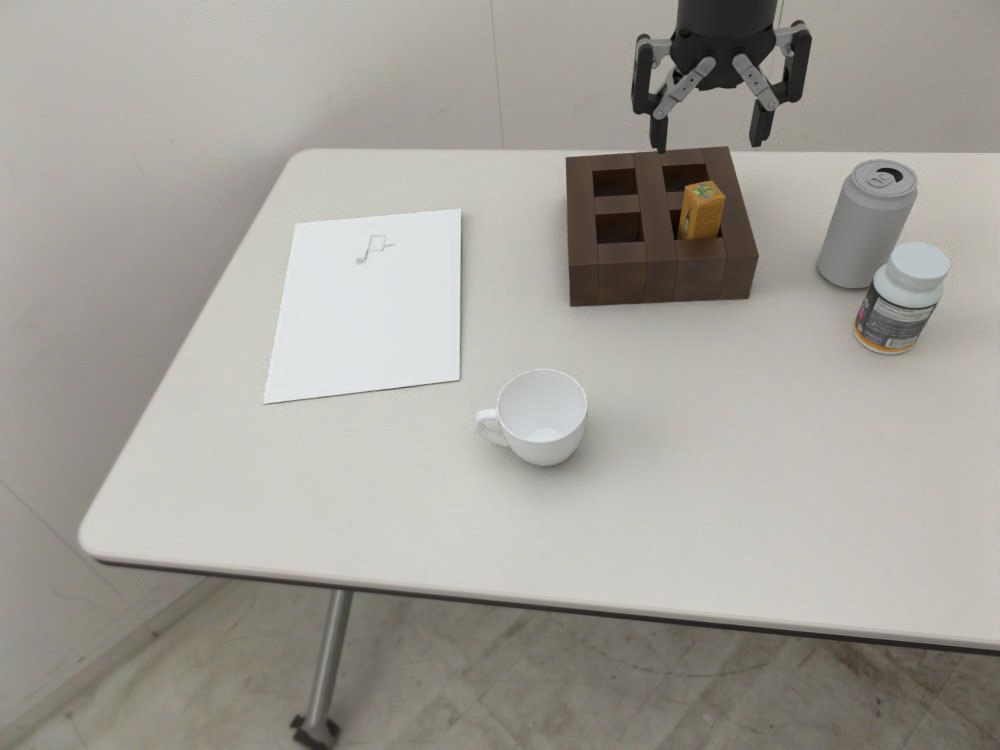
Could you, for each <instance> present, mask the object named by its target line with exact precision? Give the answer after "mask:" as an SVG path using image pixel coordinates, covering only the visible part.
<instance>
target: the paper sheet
mask: <svg viewBox="0 0 1000 750" xmlns="http://www.w3.org/2000/svg"><path fill="white" fill-rule="evenodd" d="M461 241H462V208H452V209H441V210H430V211H420V212H419V211H418V212H407V213H396V214H395V213H394V214H387V215H376V216H373V215H372V216H363V217H354V218H352V217H351V218H341V219H340V218H339V219H330V220H319V221H318V220H317V221H309V222H308V221H307V222H298V223H297V222H296V223H294V228H293V235H292V239H291V245H290V251H289V256H288V262H287V268H286V272H285V278H284V283H283V288H282V295H281V300H280V306H279V311H278V316H277V321H276V328H275V333H274V337H273V338H274V339H273V344H272V348H271V349H272V350H271V355H270V361H269V367H268V372H267V377H266V383H265V387H264V393H263V399H262V405H263V404H273V403H280V402H281V403H282V402H289V401H298V400H305V399H313V398H323V397H331V396H339V395H347V394H355V393H356V394H357V393H364V392H371V391H379V390H380V391H381V390H389V389H398V388H405V387H413V386H420V385H422V386H423V385H429V384H430V385H431V384H438V383H446V382H454V381H460V378H461V377H460V376H461V375H460V374H461V373H460V372H461V371H460V368H461V367H460V364H461V359H460V358H461V354H460V353H461V260H462V259H461V257H462V256H461V255H462V254H461V253H462V250H461V248H462V246H461V245H462V242H461Z"/></svg>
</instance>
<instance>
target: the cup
mask: <svg viewBox="0 0 1000 750" xmlns="http://www.w3.org/2000/svg"><path fill="white" fill-rule="evenodd" d="M495 404H496V405H495V407H489V408H484V409H481V410H479V411H477V412H476V413H475V415H474V419H473V428H474V431H475V433H476V434H477V435H478V436H479V437H480V438H482V439H483V440H485V441H487V442H489V443H492V444H495V445H498V446H501V447H508V448H509V449H510V450H511V451H512V452H513V453H514V454H515V455H516V456H517V457H518V458H520V459H521V460H522V461H524V462H526V463H528V464H531V465H534V466H536V467H537V466H538V467H551V466H555V465H559V464H561V463H563V462H565V461H566V460H567V459H568V458H570V457H571V456H572V455H573V454H574V453H575V452H576V451H577V449H578V448H579V446H580V445H581V443H582V442H583V439H584V437H585V434H586V431H587V426H588V418H589V416H588V415H589V406H588V404H589V401H588V396H587V393H586V391H585V389H584V387H583V386H582V385H581V383H580V382H579V380H577V379H576V378H574V377H573V376H572V375H570V374H568V373H566V372H564V371H561V370H558V369H554V368H533V369H530V370H525V371H523V372H521V373H518V374H517V375H515V376H513V377H512V378H511V379H510V380H508V381H507V382H506V383H505V384H504V385H503V387H501V390H500V392H499V393H498V396H497V398H496V403H495ZM489 421H492V422H493V421H494V422H497V424H498V427H499V428H500V432H501V433H500V432H498V431H495V430H493V429H491V428H490V427H488V426H487V425H485V422H489Z"/></svg>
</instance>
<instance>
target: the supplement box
mask: <svg viewBox="0 0 1000 750" xmlns="http://www.w3.org/2000/svg"><path fill="white" fill-rule="evenodd" d="M724 201H725V196H724V194H723V193H722V192H721V191H720V189H719V188H718V187H717V186H716V185H715V183H714V182H713V181H706V182H701V183H696V184H692V185H688V186H686V187H685V192H684V199H683V205H682V211H681V217H680V223H679V229H678V235H677V240H685V239H704V238H717V236H718V232H719V226H720V221H721V216H722V211H723V206H724Z"/></svg>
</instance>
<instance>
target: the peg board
mask: <svg viewBox="0 0 1000 750" xmlns="http://www.w3.org/2000/svg"><path fill="white" fill-rule="evenodd" d="M706 181H713V182H714V183H715V185H716V186H717V187H718V188H719V189H720V191H721V192H722V193H723V194H724V196H725V201H724V206H723V211H722V216H721V221H720V226H719V232H718V236H717V238H704V239H685V240H677V235H678V229H679V223H680V217H681V211H682V205H683V199H684V192H685V187H686V186H688V185H692V184H696V183H701V182H706ZM565 184H566V186H565V189H566V215H567V216H566V217H567V218H566V221H567V222H566V225H567V226H566V227H567V228H566V229H567V260H568V287H569V288H568V289H569V306H570V307H590V306H612V305H613V306H615V305H635V304H637V305H638V304H657V303H659V304H660V303H679V302H704V301H723V300H725V301H726V300H747V299H749V298H750V294H751V290H752V286H753V282H754V277H755V274H756V270H757V266H758V262H759V257H760V254H759V250H758V246H757V243H756V240H755V236H754V231H753V229H752V225H751V222H750V218H749V215H748V211H747V208H746V204H745V200H744V198H743V193H742V190H741V186H740V182H739V179H738V176H737V172H736V169H735V165H734V162H733V158H732V154H731V151H730V147H729V146H728V145H724V146H722V145H721V146H710V147H709V146H708V147H693V148H681V149H666V153H664V154H657V150H653V151H651V150H650V151H637V152H636V151H635V152H622V153H608V154H594V155H593V154H592V155H580V156H579V155H575V156H566V157H565Z"/></svg>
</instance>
